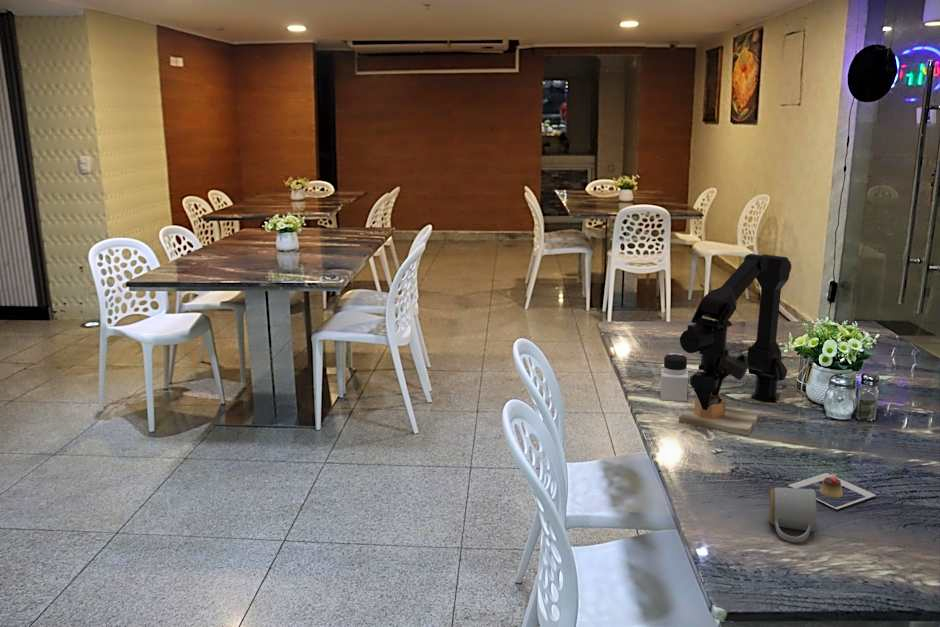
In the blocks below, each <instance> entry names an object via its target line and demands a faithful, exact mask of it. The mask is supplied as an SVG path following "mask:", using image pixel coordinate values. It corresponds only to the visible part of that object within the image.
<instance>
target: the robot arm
mask: <svg viewBox="0 0 940 627" xmlns="http://www.w3.org/2000/svg"><path fill="white" fill-rule="evenodd" d="M791 271H792V262H791V261H790V260H789V258H788V257H787V256H780V255H773V254H767V253H763V254H762V255H761V254H755V253H749V254H747V255H745V256H744V259H743V262H742V263H741V264H740V265H739V266H738V267H737V269H736V270H734V272H733V273H732V274H731V275H730V276H729V277H728V279H727V280H726V281H725V282H724V283H723V284H722V286H720V287H717V288H715V289H712V290H711V291H709V292H708V293H707V294H705V296H704V297H702V299H701V300H700V302H699V305H698V307H697V309H696V311H695V312H694V315H693V317H692V319H691V321H690V322H691V323H692V324H688V325H687V329H686V330H684V331H683V332H682V333H681V335H680V337H679V343H680V344H679V345H680V347H681V348H682V349H683V351H684V352H685V353H687V354H695V353H698V352H699V355H700V358H701V360H700V364H699V365H698V370H697V371H696V372H695V373H693V375H691V376H689V385H690V386H691V388H692V389H693V390H694V392H695V395H696V397H698V399H699V401H700V404H701V406H702V409H703V410H707V409H708V406H709V402H710V398H711V395H717V396H719V394H720V391H721V387H722V385H723V382H724V379H725V378H727V377H728V376H729V375H730V376H732V377H734V379H736V380H738V381H741V380H742V379H743V378H744V377H745V374H746V373H747V371H748V374H749V375H754V376H755V383H754V384H755V385H754V392H753V393H752V394H751V396H750V398H751V399H753V398H755V400H759V399H760V401H765V400H767V401H766V402H771V401H772V403H776V402H777V401H778V399H779V397H780V395H781V394H780V393H779V392H778V384H779V381H784V380H785V379H786V377H787V375H788V369H787V368H786V365H785V364H784V363H783V361H782V350H781V348H780V346H779V345H778V343H777V337H778V336H777V334H778V323H779V312H780V306H781V304H780V303H781V293H782V292H781V291H782V289H783V287H784V286H785V284H787V282H788V281H789V279H790V273H791ZM755 280H756V281H757V282H758V285H759V286H760V297H759V298H760V299H759V310H758V322H757V331H756V332H757V333H756V340H755V341H754V343H753V344H752V346H749V347H748V349H747V356H746V355H744V354H743V353H741V354H740V355H738V356H735V355H734V356H732V355H729V351H730V350H729V349H728V348H727V336H728V335H727V334H728V328H730V327H732V326H733V323H732V322H731V321H730V319H731V318H732V316H733V314H734V313H735V311H736V310H737V306H738V305H737V301H738V299H739V298H740V297H741V296H742V294H743V293H744V292H745V291H747V289H748V288H749V286H751V284H752V283H753V282H754V281H755Z"/></svg>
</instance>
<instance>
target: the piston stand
mask: <svg viewBox="0 0 940 627" xmlns="http://www.w3.org/2000/svg"><path fill="white" fill-rule="evenodd" d="M694 410H695V402H692V403H691V404H690V405H689V406H688V407H687V408H686V409H685V410H684V411H683V412H682V413H681V415H679V417H678V423H679V424H683V423H684V425H688V424H689V426H695V427H699V426H700V428H705V429H710V430H711V429H712V430H715V431H721V432H726V433H730V432H731V434H736V435H741V434H742V436H746V435H747V436H749V435H750V433H751V432H752V430H753V429H754V427H755V426H756V424H757V423H758V421H759V419H760V418H759V417H760V414H758V413H755V412H748V411H744V410H743V411H742V410H738V409H737V410H736V409H731V408H726V407H725V415H724V416H723V418H720V419H707V418H701V417H699V416H697V415H696V414H695V413H694Z"/></svg>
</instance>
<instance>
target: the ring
mask: <svg viewBox="0 0 940 627" xmlns="http://www.w3.org/2000/svg"><path fill="white" fill-rule="evenodd" d="M711 397H715V398H717V399H718V403H709V406H708V409H707V410H703V409H702V406H701V404H700V401H699V399H698V397H697V396H696V397H695V399H694V403H695V410H694V413H695V414H696V415H697V416H699V417H701V418H707V419H720V418H723V416H724V415H725V408H726V403H727V399H725V398H723V397H722V396H721V395H718V396H717V395H712V394H711Z"/></svg>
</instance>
